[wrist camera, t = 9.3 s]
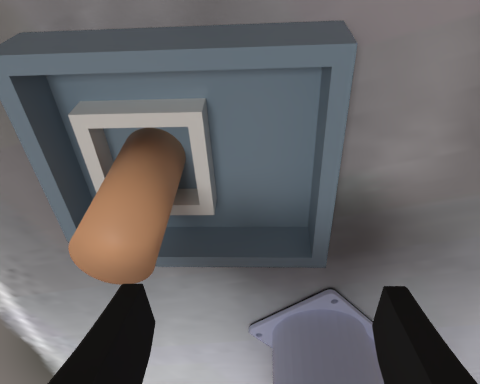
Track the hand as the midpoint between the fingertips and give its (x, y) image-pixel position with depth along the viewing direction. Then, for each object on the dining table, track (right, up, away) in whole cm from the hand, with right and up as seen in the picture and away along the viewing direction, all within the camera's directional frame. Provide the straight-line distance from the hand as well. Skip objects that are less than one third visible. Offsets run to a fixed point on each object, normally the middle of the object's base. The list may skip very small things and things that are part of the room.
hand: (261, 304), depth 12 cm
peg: (-5, +5, +8) cm, 11 cm away
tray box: (-3, +6, +8) cm, 11 cm away
